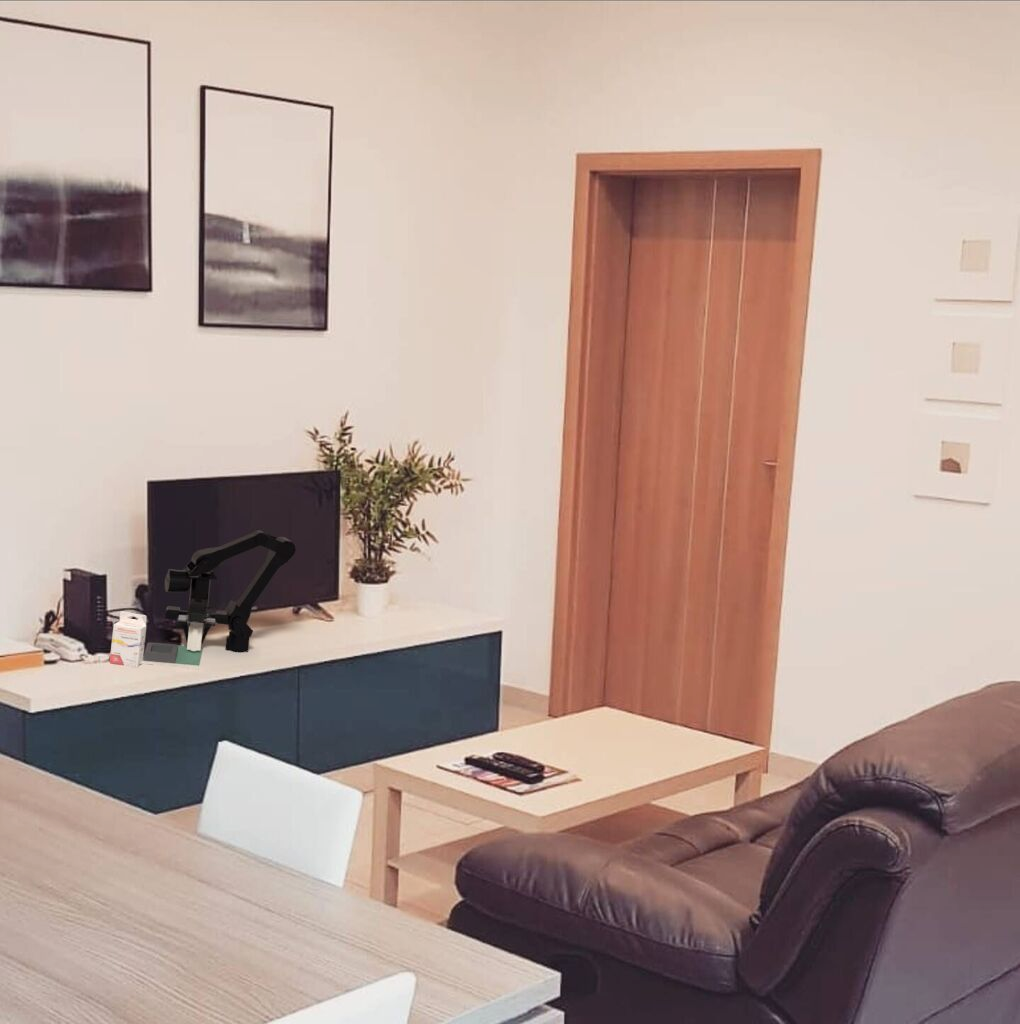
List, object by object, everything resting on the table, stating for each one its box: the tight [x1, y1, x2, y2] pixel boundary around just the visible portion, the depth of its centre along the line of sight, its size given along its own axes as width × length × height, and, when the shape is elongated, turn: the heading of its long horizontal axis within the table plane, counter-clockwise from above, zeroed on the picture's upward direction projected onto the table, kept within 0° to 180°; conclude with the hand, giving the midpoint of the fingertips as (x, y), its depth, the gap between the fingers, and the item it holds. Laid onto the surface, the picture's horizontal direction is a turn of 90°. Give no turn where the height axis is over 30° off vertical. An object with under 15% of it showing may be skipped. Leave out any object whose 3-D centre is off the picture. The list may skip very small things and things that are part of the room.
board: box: [143, 642, 204, 667], centre depth 457 cm, size 16×20×4 cm
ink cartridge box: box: [109, 610, 148, 668], centre depth 443 cm, size 9×5×15 cm, turn 85°
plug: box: [186, 621, 205, 651], centre depth 463 cm, size 4×7×7 cm, turn 8°
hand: (194, 642), depth 464 cm, fingers closed on plug, 4 cm apart
